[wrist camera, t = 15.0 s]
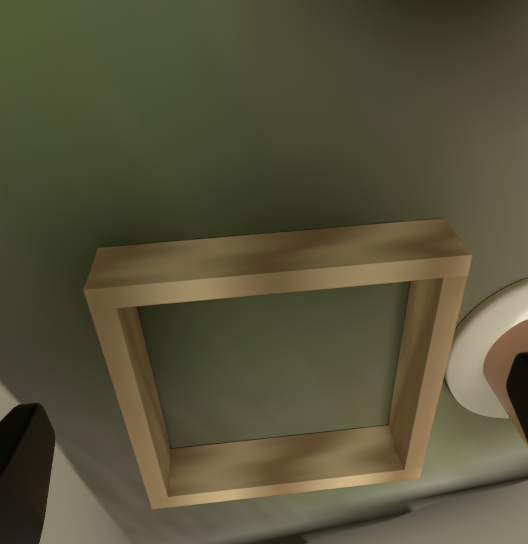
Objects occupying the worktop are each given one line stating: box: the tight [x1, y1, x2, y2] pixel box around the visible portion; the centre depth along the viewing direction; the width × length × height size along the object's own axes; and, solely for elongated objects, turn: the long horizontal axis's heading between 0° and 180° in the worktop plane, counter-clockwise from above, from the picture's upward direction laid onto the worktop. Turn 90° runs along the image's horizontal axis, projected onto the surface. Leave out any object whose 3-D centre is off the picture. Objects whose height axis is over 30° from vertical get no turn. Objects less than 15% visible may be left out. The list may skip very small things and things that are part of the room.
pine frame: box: [83, 218, 473, 509], centre depth 24 cm, size 15×15×3 cm
